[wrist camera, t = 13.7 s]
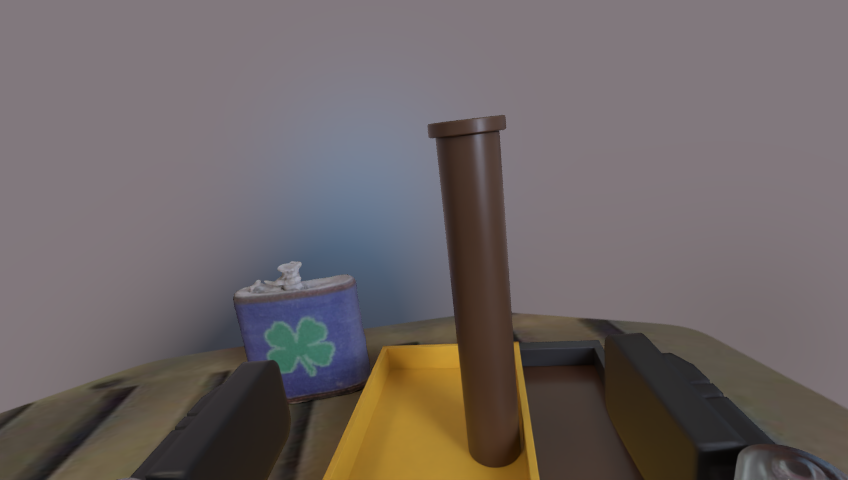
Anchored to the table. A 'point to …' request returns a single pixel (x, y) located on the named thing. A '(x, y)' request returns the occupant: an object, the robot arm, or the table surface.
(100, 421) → the table surface
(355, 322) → the flask
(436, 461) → the tray
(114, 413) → the table surface
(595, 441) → the track
